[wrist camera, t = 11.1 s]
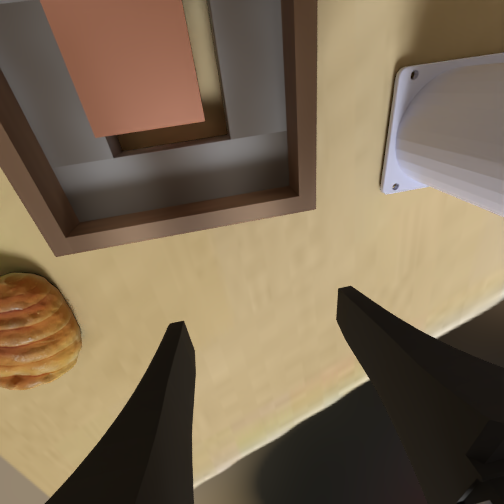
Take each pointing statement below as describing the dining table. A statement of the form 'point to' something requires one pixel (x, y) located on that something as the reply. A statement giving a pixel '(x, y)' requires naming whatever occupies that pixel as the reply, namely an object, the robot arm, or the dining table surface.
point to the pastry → (34, 332)
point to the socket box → (169, 155)
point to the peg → (128, 62)
